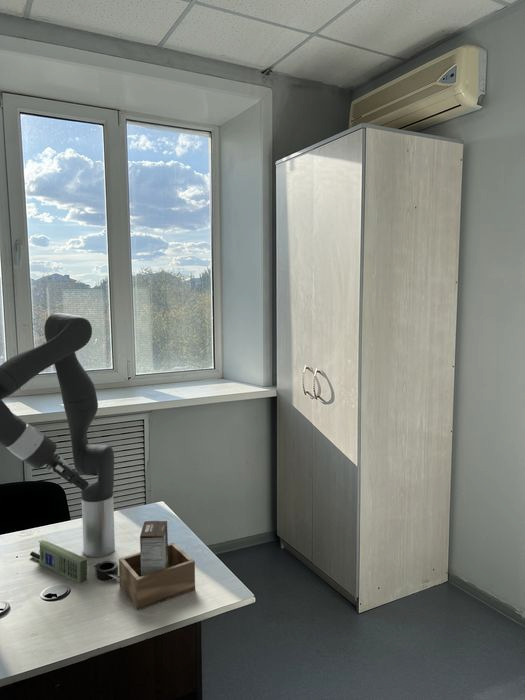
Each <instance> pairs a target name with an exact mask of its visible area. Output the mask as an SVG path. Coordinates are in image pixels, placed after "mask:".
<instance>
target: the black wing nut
mask: <svg viewBox="0 0 525 700" xmlns="http://www.w3.org/2000/svg"><path fill="white" fill-rule="evenodd" d="M93 568H94V569H95V571H96V573H95V574H96V575H95V576H96V579H97V580H98V581H101V582H105V581H107V582H108V581H111V580H114V579H115V580H116V579H120V578H119V563H118V562H116V561H114V560H105V561H103V562H102V561H101V562H99V563H96V564H95V565H94V566H93Z"/></svg>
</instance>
